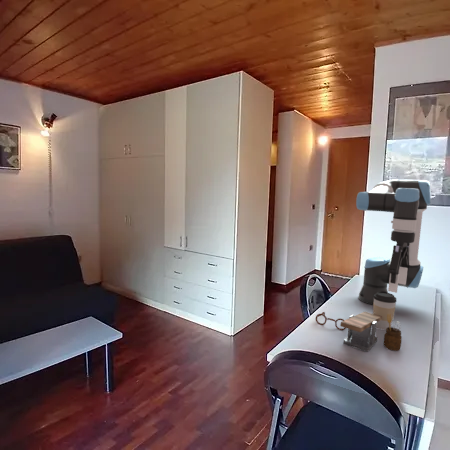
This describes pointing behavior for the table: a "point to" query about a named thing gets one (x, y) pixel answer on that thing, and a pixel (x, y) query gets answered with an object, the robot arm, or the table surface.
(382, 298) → the coffee cup
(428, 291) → the table surface
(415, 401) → the table surface
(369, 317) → the beam
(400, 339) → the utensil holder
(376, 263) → the robot arm
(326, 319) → the glasses
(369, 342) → the stand
